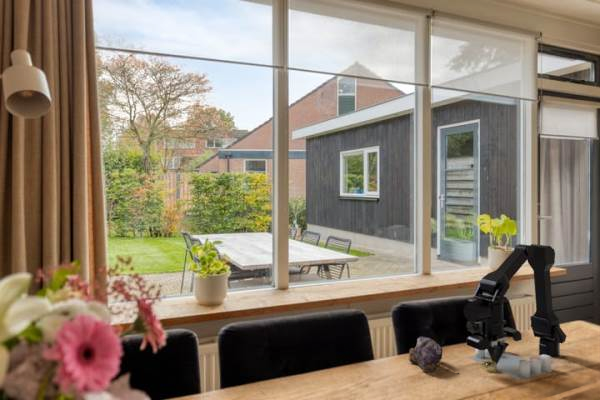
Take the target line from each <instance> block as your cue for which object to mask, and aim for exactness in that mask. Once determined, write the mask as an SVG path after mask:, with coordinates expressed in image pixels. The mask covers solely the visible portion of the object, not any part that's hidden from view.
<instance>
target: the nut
mask: <svg viewBox="0 0 600 400" xmlns="http://www.w3.org/2000/svg"><path fill="white" fill-rule="evenodd" d="M479 368H480V370H483V371H484V372H486V373H496V372H497V371H498V370H497V365H496V362H494V361H492V360H490V359H489V360H483V361H481V363H480V364H479Z"/></svg>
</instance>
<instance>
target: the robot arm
mask: <svg viewBox="0 0 600 400" xmlns="http://www.w3.org/2000/svg"><path fill="white" fill-rule="evenodd" d="M555 258H556V251H555V249H554V248H553V247H552V246H550V245H543V244H535V243H532V244H521V243H520V244H516V245H515V246H514V249H513V250H512V252H510V254H509V255H508V256H507V258H506V259H505V260H504V261H503V262H502V263H501V264H500V266H498V268H497V269H495V270H494V271H491V272H488V273H487V274H485V276H483V277H482V278H481V280H480V281H479V283H478V286H477V288H476V290H475V292H474V294H473V298H470V299H468V303H466V304H465V305H464V308H463V315H464V318H465V319H466V320H467V321H466V329H467V331H468V332H471V334H472V335H469V336H468V337H466V346H469V347H470V348H471V347H472V348H474V349H475V350H476V349H478V350H485V351H486V349H487V350H488V352H489V354H490V357H491V360H492V361H494V362H496V365H497V363H498V361H499V360H500V358H501V356H502V354H503V352H504V351H505V352H506V349H507V347H509V345H510V343H508V342H506V339H509V338H512V339H513V341H515V342H519V341H522V333H521V332H520V330H518V329H514V328H511V327H508V326H507V327H504V326H505V325H507V323H508V322H507V320H506V319H504V303H506V302H508V298H507V297H505V295H506V294H507V292H508V290H509V289H510V283H511V279H512V278H513V277H514V276H515V275H516V274H517V273H518V271H519V270H520V269H521V268H522V266H523V265H524V264H525V263H526V262H527V263H528V266H530V268H531V269H532V271H533V282H534V296H535V307H536V308H535V312H534V313H533V315H530V319H529V320H530V328H531V329H532V334H533V336H534V337H535V338H538V339H539V341H538V342H539V344H538V355H539V356H541V355H549V356H551V358H557V359H558V358H559V359H564V358H565V356H564V355H562V354H560V350H561V347H560V346H561V345H560V344H564V343H565V342H566V340H567V334H565V332H564V331H563V329H562V328H561V325H560V320H559V317H557V315H556V313H555V312H554V309H553V296H552V295H553V294H552V281H551V269H552V268H553V267H554V265H555V263H556V261H555V260H556V259H555ZM475 333H476V334H475ZM477 333H479V335H478V334H477Z"/></svg>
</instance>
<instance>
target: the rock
mask: <svg viewBox="0 0 600 400" xmlns="http://www.w3.org/2000/svg"><path fill="white" fill-rule="evenodd" d="M408 355H409V356H408V361H409V362H410V363H412V365H414V364H416V366H417V365H418V367H420V369H421V370H422V371H424V372H426V373H433V372H434V371H435V370H436V367H437V366H438V364H439V363H440V361H441V360H443V359H442V358H443V347H442V346H440V344H439V343H437V342H436V341H435V340H434V339H432V338H431V337H427V336H419V337H418V338H417V340H416V346H414V348H413V347H411V348H410V349H409V354H408Z"/></svg>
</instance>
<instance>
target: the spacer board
mask: <svg viewBox="0 0 600 400" xmlns="http://www.w3.org/2000/svg"><path fill="white" fill-rule="evenodd" d="M468 358H469V359H471V360H473V361H475V362H478V363H480V364H481V361H483V360H489V359H490V360H491V357H490V354H489V352H488V350H487V349H486V350H478V349H476V348H475V355H473V356H469V357H468ZM497 371H498V372H500V373H503V374H505V375H507V376H508V377H511V378H513V379H516V380H519V381H522V380H523V381H524V380H526V379H529V378H533V377H538V376H540V375H544V374H547V373H551V372H555V370H554V369H552V357H551V356H549V355H540V358H539V357H535V356H530V357H529V360H528V359H526V358H523V357H521V356H518V355H516V354H512V353H510V352H508V351H506V350H505V351H504V352H503V354H502V356H501V358H500V360H499V361H498V363H497Z"/></svg>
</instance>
